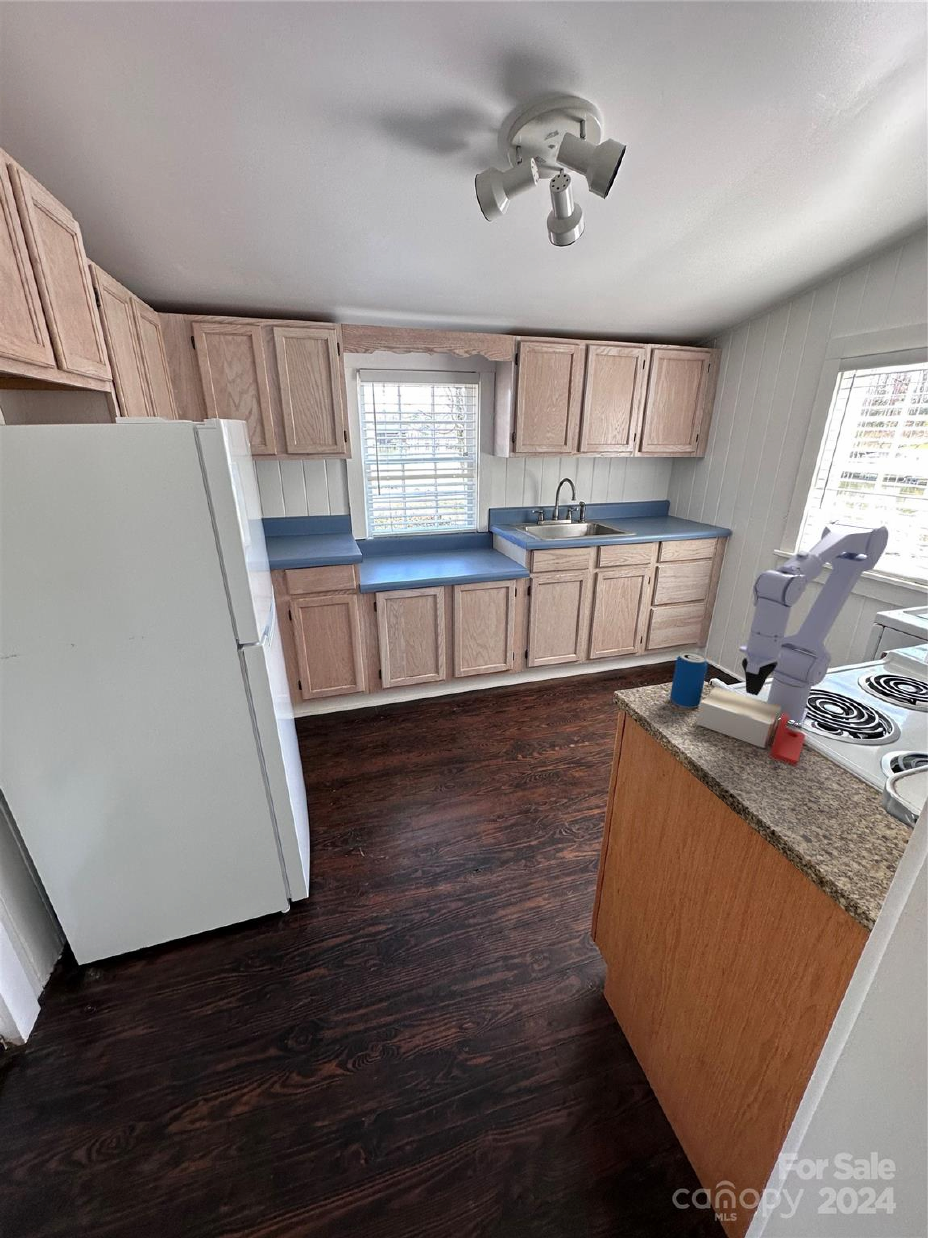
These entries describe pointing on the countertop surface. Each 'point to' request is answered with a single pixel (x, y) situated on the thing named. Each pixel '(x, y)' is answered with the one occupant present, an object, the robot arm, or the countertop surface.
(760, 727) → the door
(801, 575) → the robot arm
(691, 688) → the beverage can
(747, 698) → the cream rectangular block
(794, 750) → the bracket
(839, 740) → the countertop surface
